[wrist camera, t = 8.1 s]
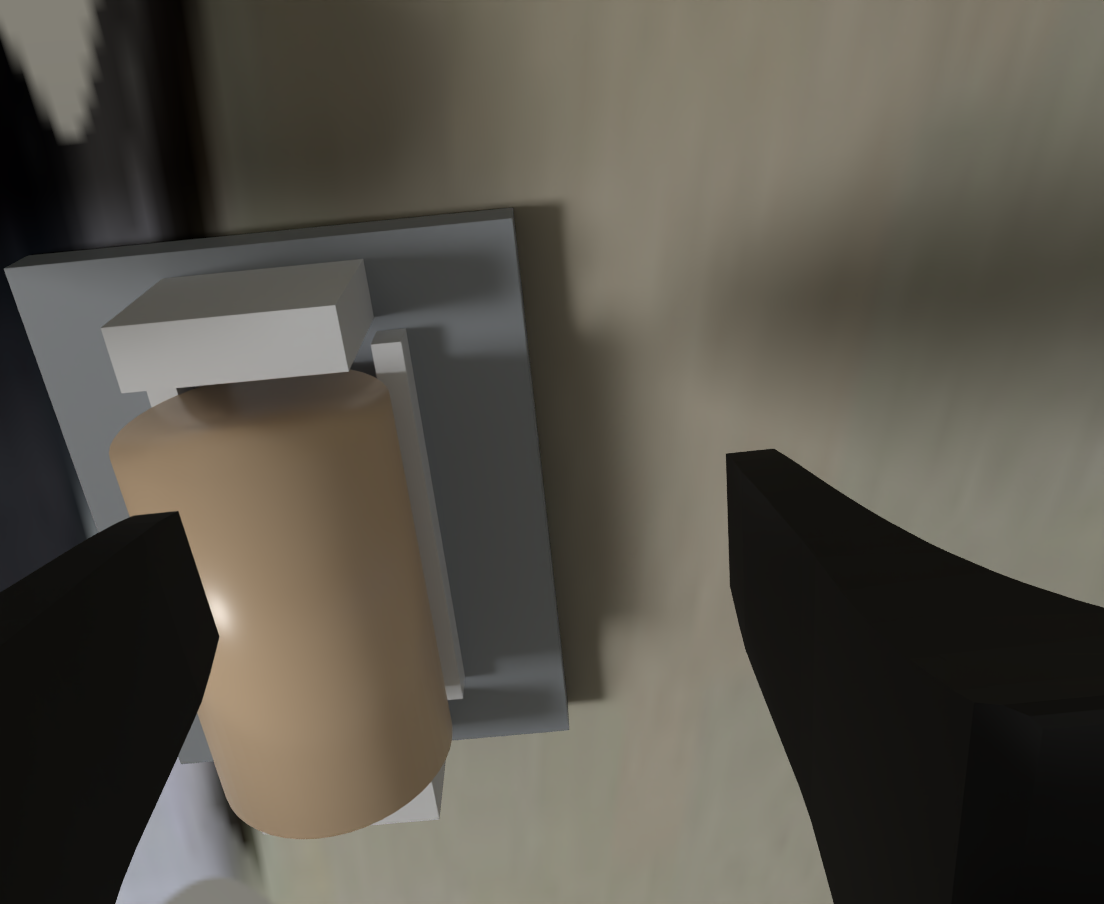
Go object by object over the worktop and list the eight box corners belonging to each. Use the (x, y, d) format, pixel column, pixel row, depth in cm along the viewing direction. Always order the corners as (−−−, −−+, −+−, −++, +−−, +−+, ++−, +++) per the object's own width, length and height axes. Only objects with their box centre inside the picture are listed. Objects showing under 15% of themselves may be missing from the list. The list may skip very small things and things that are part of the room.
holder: (512, 207, 19) (509, 258, 16) (567, 703, 25) (574, 823, 21) (28, 255, 19) (-86, 316, 16) (193, 736, 25) (137, 861, 22)
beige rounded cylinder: (418, 361, 19) (340, 478, 15) (472, 672, 23) (422, 842, 18) (189, 372, 20) (49, 488, 15) (275, 672, 23) (182, 835, 19)
